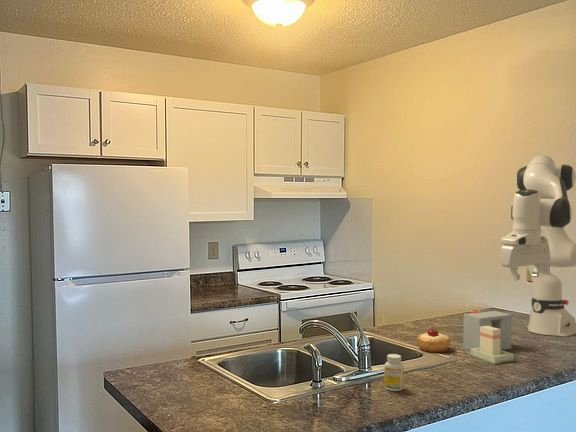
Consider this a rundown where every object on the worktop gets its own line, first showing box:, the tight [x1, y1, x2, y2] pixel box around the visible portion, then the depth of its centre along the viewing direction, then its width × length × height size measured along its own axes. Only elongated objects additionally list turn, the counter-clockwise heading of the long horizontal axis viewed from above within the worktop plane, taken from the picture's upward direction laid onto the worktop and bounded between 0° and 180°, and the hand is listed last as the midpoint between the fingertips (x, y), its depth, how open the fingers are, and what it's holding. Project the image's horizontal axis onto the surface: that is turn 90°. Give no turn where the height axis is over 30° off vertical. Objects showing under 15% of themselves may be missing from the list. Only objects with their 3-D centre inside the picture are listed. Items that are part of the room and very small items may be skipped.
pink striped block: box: [480, 326, 501, 356], centre depth 190 cm, size 4×6×10 cm, turn 25°
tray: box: [470, 348, 515, 365], centre depth 189 cm, size 9×11×2 cm
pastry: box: [417, 325, 451, 353], centre depth 201 cm, size 12×12×9 cm
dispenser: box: [462, 310, 513, 351], centre depth 203 cm, size 16×8×13 cm, turn 115°
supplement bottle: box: [384, 353, 404, 392], centre depth 158 cm, size 5×5×10 cm
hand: (525, 278), depth 183 cm, fingers open, 8 cm apart
